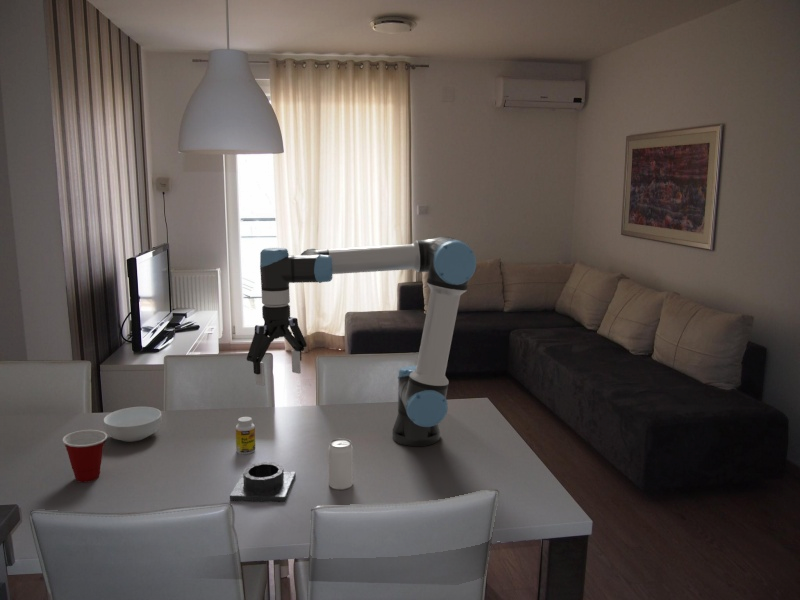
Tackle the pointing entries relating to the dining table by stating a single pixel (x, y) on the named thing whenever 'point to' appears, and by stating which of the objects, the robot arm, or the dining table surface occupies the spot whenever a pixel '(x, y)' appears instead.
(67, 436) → the plastic cup
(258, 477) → the socket
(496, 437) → the dining table surface
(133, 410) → the cereal bowl
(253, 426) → the supplement bottle
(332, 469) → the can
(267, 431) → the dining table surface
